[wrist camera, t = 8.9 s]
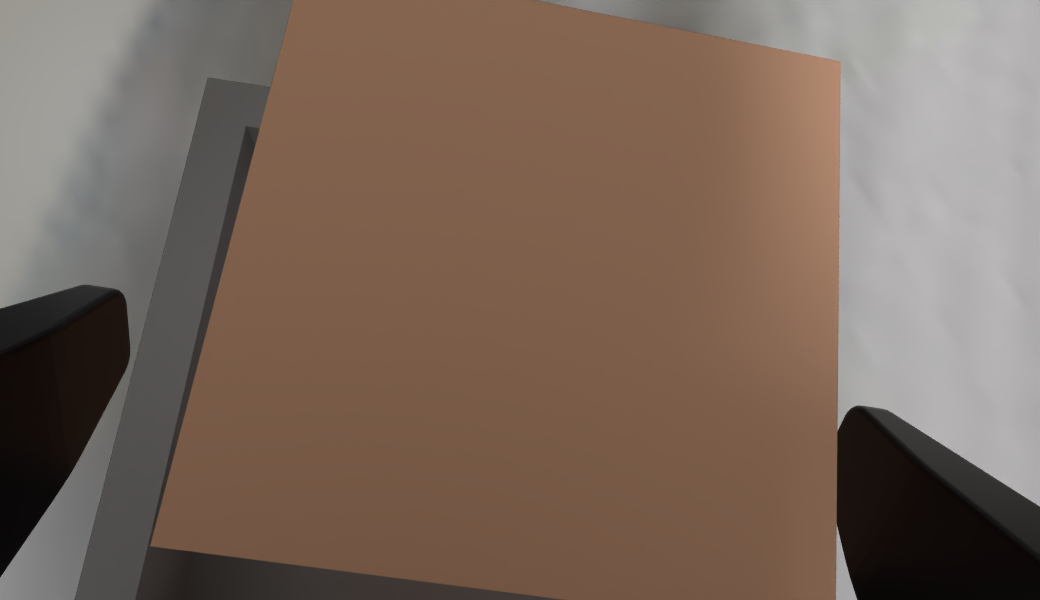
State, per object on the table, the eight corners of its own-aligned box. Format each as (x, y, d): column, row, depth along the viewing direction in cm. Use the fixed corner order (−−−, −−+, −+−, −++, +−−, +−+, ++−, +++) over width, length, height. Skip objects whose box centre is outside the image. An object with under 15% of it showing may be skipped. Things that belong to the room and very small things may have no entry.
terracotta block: (544, 540, 17) (834, 635, 5) (349, 514, 16) (149, 546, 5) (566, 352, 18) (840, 61, 6) (385, 323, 18) (306, -46, 6)
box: (706, 747, 17) (783, 815, 13) (124, 701, 16) (32, 762, 12) (720, 227, 20) (784, 168, 17) (248, 157, 19) (207, 77, 16)
